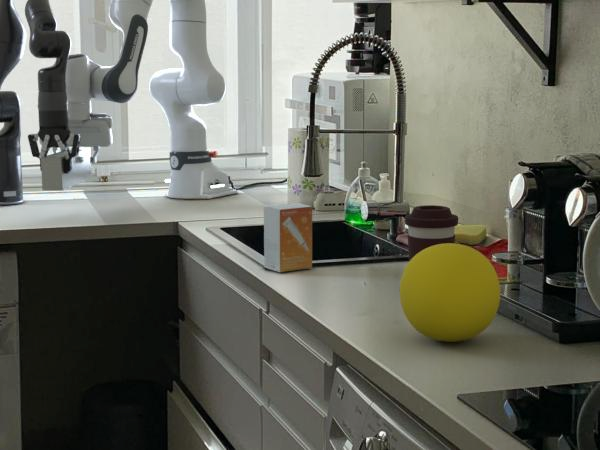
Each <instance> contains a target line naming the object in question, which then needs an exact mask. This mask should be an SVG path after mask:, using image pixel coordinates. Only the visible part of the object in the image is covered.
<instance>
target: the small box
mask: <svg viewBox="0 0 600 450" xmlns="http://www.w3.org/2000/svg"><path fill="white" fill-rule="evenodd" d="M263 248H264V249H263V257H264V258H263V259H264V266H263V267H264V268H266V269H267V270H270V271H274V272H278V273H285V272H290V271H291V272H292V271H298V270H299V271H300V270H307V269H308V270H309V269H312V268H313V206H312V205H308V204H303V203H299V202H291V203H279V204H278V203H277V204H273V205H264V206H263Z"/></svg>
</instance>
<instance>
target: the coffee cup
mask: <svg viewBox="0 0 600 450" xmlns="http://www.w3.org/2000/svg"><path fill="white" fill-rule="evenodd" d="M404 225H406V226H407V227H408V228H407V230H408V233H407V251H408V253H407V254H408V262H409V261H410V260H411V259H412V258H413V257H414V256H415V255H416V254H418V253H419V252H420V251H422V250H424V249H426V248H428V247H431V246H434V245H438V244H445V243H454V244H456V243H455V242H456V235H455V229H456V228H455V227H456V226H458V225H459V216H458V215H456V214H453V213H452V211H451V208H450V207H448V206H444V205H437V204H436V205H434V204H433V205H431V204H429V205H426V204H425V205H418V206H414V207H413V208H412V210H411V213H408V214H406V215H405V216H404Z"/></svg>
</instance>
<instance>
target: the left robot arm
mask: <svg viewBox="0 0 600 450" xmlns="http://www.w3.org/2000/svg"><path fill="white" fill-rule="evenodd" d="M24 15H25V19H26V22H27V25H28V28H29V41H28V48H29V49H28V50H29V52H30V53H31V55H32V56H33V57H34V58H37V59H55V62H54V64H52V65H51V66H47V67H42V68H40V69H39V70H38V71H37V89H38V90H37V91H38V93H37V94H38V96H37V109H38V132H37V133H30V134H28V135H27V141H28V144H29V148H30V152H31V155H32V157H33V158H37V159H39V170H40V171H41V157H44V156H47V155H49V154H48V153H49V151H50V149H51V148H52V147H56V148H60V150H59V151H61V152H62V153H63V155H64V157H65V160H64V163H65V174H68V173H70V171H71V170H72V158H73V157H75V156H78V154H79V148H81V147H80V141H81V134H74V133H71V132H70V130H69V121H68V100H67V94H66V81H65V80H66V67H67V62H68V58H69V55H71V54H70V53H71V49H72V40H71V39H72V38H71V37H70V35H69V34H68V33H67V32H66V31H65V30H57V28H58V25H57V20H56V17H55V16H54V11H53V9H52V7H51V4H50V0H27V1H26V3H25V6H24ZM26 41H27V31H26V28H25V25H24V24H23V22H22V19H21V17H20V15H19V13H18V11H17V9H16V7H15V4H14V0H0V123H1V124H3V127H2V128H1V129H0V206H11V205H21V204H23V203H24V202H25V201H24V187H23V170H22V169H23V168H22V167H23V166H22V151H21V136H22V135H21V134H22V106H21V100H20V97H19V95H18V93H17V92H16V91H14V90H1V89H2V86H3V83H4V82H5V80H6V78H8V76H9V75H10V74H11V72H12V71H13V70H14V69H15V68H16V66H17V65H18V64H19V63H20V61H21V60H22V58H23V56H24V52H25V46H26ZM69 137H71V141H72V142H73V145H72V147H71V148H72V152H71V153H70V150H69V149H70V147H68V144H67V140H68V139H69ZM39 138H40V139H41V140H42V142H43V145H41V148H40V149H39V146H38V141H39ZM52 149H53V148H52Z"/></svg>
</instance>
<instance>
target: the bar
mask: <svg viewBox="0 0 600 450" xmlns="http://www.w3.org/2000/svg"><path fill="white" fill-rule="evenodd" d="M91 148H92V147H79V154H78V156H75V157H73V158H72V170H71V171H70V173H68V174H65V163H64V160H65V157H64V155H63V153H62V152H61V150H59V152H57V153H54V152H53V153H50V154H47V156H44V157H41V170H40V173H41V188H42V191H64V190H67V189H70V188H72V187H74V186H77V185H79V184H81V183H83V182H86V181H88V180H91V179H92V178H93V175H92V174H93V173H92V163H90V157H91V156H92V154H91V153H92V151H91V150H92V149H91ZM69 150H70V153H71V152H72V147H69Z"/></svg>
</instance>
